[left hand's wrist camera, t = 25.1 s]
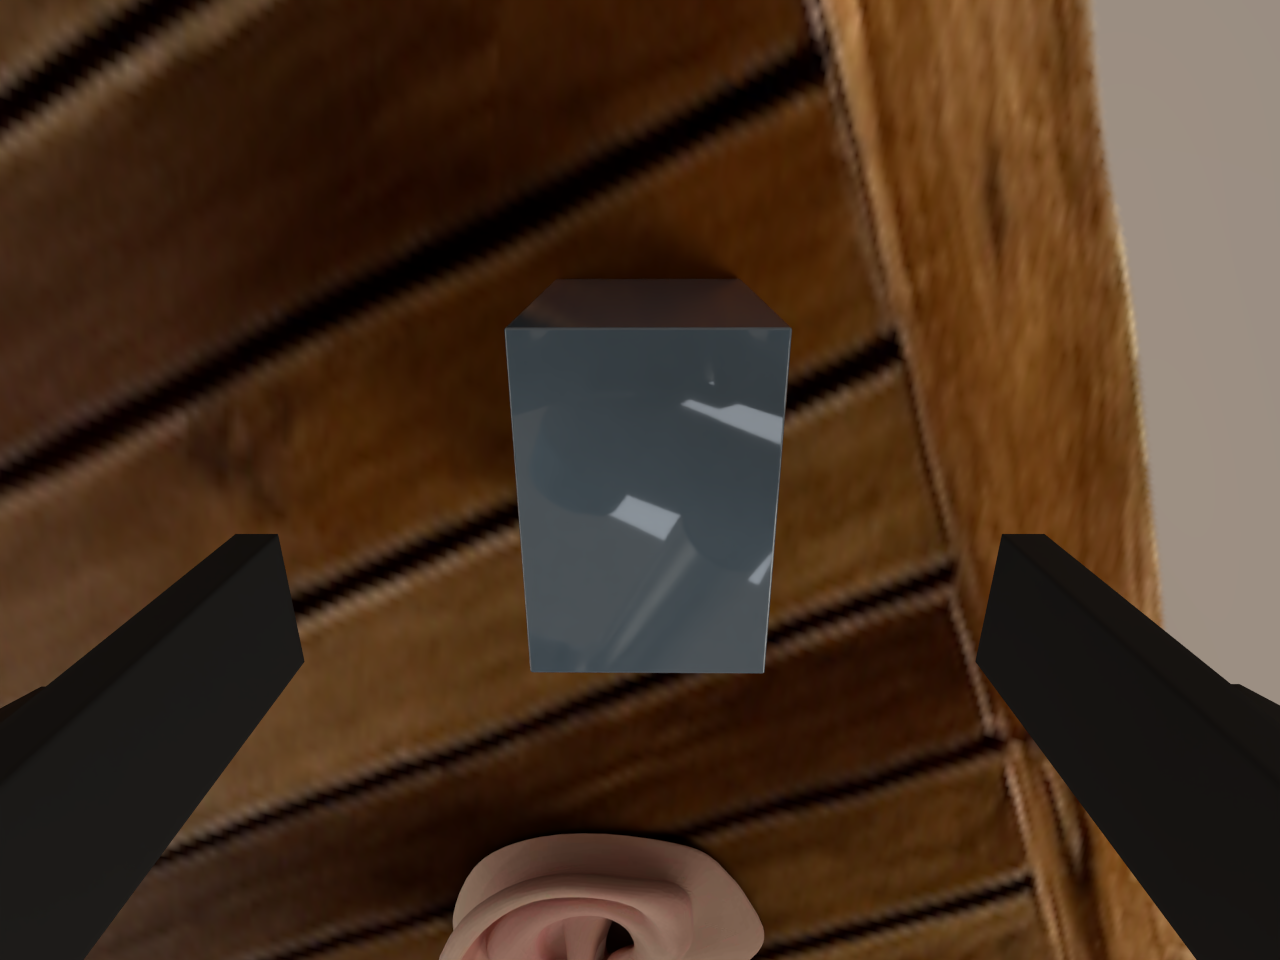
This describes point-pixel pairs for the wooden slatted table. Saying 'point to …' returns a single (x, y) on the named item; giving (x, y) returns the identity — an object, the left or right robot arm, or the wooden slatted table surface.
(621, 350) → the dark grey boxy piece
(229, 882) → the wooden slatted table surface
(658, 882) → the anatomical model
